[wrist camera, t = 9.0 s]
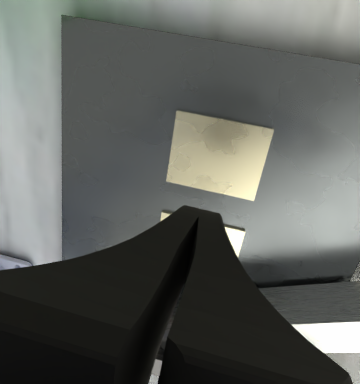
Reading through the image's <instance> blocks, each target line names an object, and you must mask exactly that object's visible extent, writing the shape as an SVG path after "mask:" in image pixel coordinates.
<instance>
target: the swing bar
mask: <svg viewBox="0 0 360 384" xmlns="http://www.w3.org/2000/svg"><path fill="white" fill-rule="evenodd" d="M258 289H259V290H260V292H261V293H262V294H263V295H264V296H265V297H266V299H267V300H268V301H269V302H270V303H271V304H272V305H273V307H274V308H275V309H276V310H277V311H278V312H279V313H280V314H281V315H282V316H283V317H284V318H285V319H286V320H287V321H288V322H289V323H290V324H291V325H292V326H293V327H294V328H295V329H296V330H297V331H298V332H300V333H301V334H302V335H303V336H304V337H305V338H306V339H307V340H308V341H309V342H311V343H312V344H313V345H314V346H316V347H317V348H318V349H319V350H320V351H322V352H323V353H352V352H360V281H352V282H339V283H325V284H312V285H298V286H284V287H271V288H258ZM181 297H182V294H180V296H179V299H178V301H177V304H176V306H175V309H174V311H173V314H172V316H171V319H170V321H169V324H168V326H167V328H166V331H165V333H164V336H163V338H162V341H161V344H160V346H161V347H162V348H163V349H164V350H165V345H166V340H167V336H168V333H169V331H170V328H171V325H172V322H173V320H174V317H175V314H176V311H177V308H178V306H179V303H180V300H181Z"/></svg>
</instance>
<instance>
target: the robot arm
mask: <svg viewBox="0 0 360 384" xmlns="http://www.w3.org/2000/svg"><path fill="white" fill-rule="evenodd" d="M183 286H184V289H183ZM182 289H183V294H182V297H181V300H180V303H179V306H178V308H177V311H176V314H175V317H174V320H173V322H172V325H171V328H170V331H169V333H168V336H167V340H166V345H165V350H164V355H163V360H162V365H161V370H160V375H159V380H158V384H353V383H352V380H351V378H350V375H349V373H348V372H346V371H345V370H344V369H343V368H342V367H340V366H339V365H338V364H337V363H335V362H334V361H333V360H332V359H330V358H329V357H328V356H327V355H325V354H324V353H323V352H322V351H320V350H319V349H318V348H317V347H316V346H314V345H313V344H312V343H311V342H309V341H308V340H307V339H306V338H305V337H304V336H303V335H302V334H301V333H300V332H298V331H297V330H296V329H295V328H294V327H293V326H292V325H291V324H290V323H289V322H288V321H287V320H286V319H285V318H284V317H283V316H282V315H281V314H280V313H279V312H278V311H277V310H276V309H275V308H274V307H273V305H272V304H271V303H270V302H269V301H268V300H267V299H266V297H265V296H264V295H263V294H262V293H261V292H260V290H259V289H258V288H257V287H256V285H255V284H254V282H253V281H252V280H251V278H250V277H249V275H248V274H247V272H246V271H245V269H244V267H243V266H242V264H241V262H240V260H239V258H238V257H237V255H236V253H235V251H234V249H233V246H232V244H231V242H230V240H229V237H228V235H227V232H226V229H225V226H224V223H223V218H222V216H221V214H220V213H216V212H212V211H208V210H204V209H199V208H195V207H191V206H187V205H183V206H181V207H180V208H178V209H177V210H176V211H174V212H173V213H172V214H170V215H169V216H168V217H166V218H165V219H163V220H162V221H160V222H159V223H157V224H156V225H154V226H153V227H151V228H149V229H147V230H146V231H144V232H142V233H140V234H138V235H137V236H135V237H133V238H131V239H129V240H126V241H124V242H122V243H119V244H117V245H114V246H112V247H109V248H106V249H103V250H100V251H96V252H93V253H90V254H87V255H83V256H80V257H76V258H72V259H67V260H63V261H58V262H53V263H48V264H42V265H36V266H32V265H31V264H30V263H29V262H27V261H23V260H20V259H16V258H12V257H8V256H5V255H1V254H0V384H148V383H149V380H150V376H151V373H152V369H153V366H154V363H155V359H156V356H157V352H158V350H159V347H160V344H161V341H162V338H163V336H164V333H165V331H166V328H167V326H168V324H169V321H170V319H171V316H172V314H173V311H174V309H175V306H176V304H177V301H178V299H179V296H180V294H181V291H182Z"/></svg>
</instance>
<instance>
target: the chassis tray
mask: <svg viewBox="0 0 360 384" xmlns="http://www.w3.org/2000/svg"><path fill="white" fill-rule="evenodd" d="M183 205H187V206H191V207H195V208H199V209H204V210H208V211H212V212H216V213H220V214H221V216H222V218H223V223H224V226H225V229H226V232H227V235H228V237H229V240H230V242H231V244H232V246H233V249H234V251H235V253H236V255H237V257H238V258H239V260H240V262H241V264H242V266H243V267H244V269H245V271H246V272H247V274H248V275H249V277H250V278H251V280H252V281H253V282H254V284H255V285H256V287H257V288H271V287H284V286H298V285H312V284H325V283H339V282H350V280H351V278H352V276H353V274H354V271H355V269H356V267H357V265H358V263H359V261H360V64H355V63H349V62H343V61H337V60H331V59H325V58H319V57H313V56H307V55H301V54H295V53H289V52H283V51H277V50H271V49H265V48H259V47H253V46H247V45H241V44H235V43H229V42H223V41H216V40H210V39H204V38H198V37H192V36H186V35H180V34H174V33H168V32H162V31H156V30H150V29H144V28H138V27H132V26H126V25H120V24H114V23H108V22H102V21H96V20H90V19H84V18H78V17H72V16H66V15H62V261H63V260H67V259H72V258H76V257H80V256H83V255H87V254H90V253H93V252H96V251H100V250H103V249H106V248H109V247H112V246H114V245H117V244H119V243H122V242H124V241H126V240H129V239H131V238H133V237H135V236H137V235H138V234H140V233H142V232H144V231H146V230H147V229H149V228H151V227H153V226H154V225H156V224H157V223H159V222H160V221H162V220H163V219H165V218H166V217H168V216H169V215H170V214H172V213H173V212H174V211H176V210H177V209H178V208H180V207H181V206H183ZM183 289H184V286H183ZM183 289H182V291H181V294H183ZM163 355H164V349H163V348H162V347H161V346H160V347H159V350H158V352H157V356H156V359H155V363H154V366H153V369H152V373H151V374H153V375H156V376H159V375H160V370H161V365H162V360H163Z"/></svg>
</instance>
